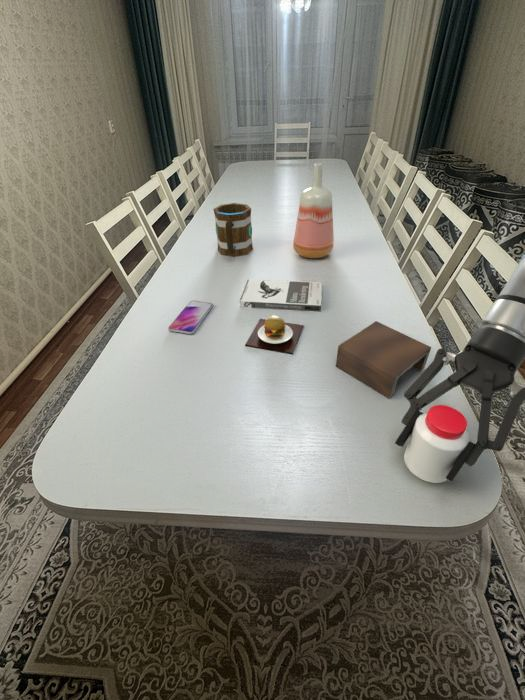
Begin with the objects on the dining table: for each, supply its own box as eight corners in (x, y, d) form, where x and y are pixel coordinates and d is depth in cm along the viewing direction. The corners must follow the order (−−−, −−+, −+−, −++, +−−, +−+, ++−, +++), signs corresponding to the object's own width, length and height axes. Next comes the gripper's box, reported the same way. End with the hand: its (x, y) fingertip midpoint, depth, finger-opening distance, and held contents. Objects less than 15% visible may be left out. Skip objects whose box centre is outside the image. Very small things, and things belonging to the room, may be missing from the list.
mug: (220, 242, 142) (216, 203, 132) (254, 242, 141) (252, 202, 131) (212, 264, 126) (207, 221, 117) (250, 264, 125) (248, 220, 116)
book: (321, 287, 111) (322, 282, 109) (320, 311, 100) (321, 305, 99) (248, 284, 114) (248, 278, 112) (240, 307, 103) (239, 301, 102)
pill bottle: (438, 492, 56) (460, 448, 49) (394, 460, 60) (409, 417, 54) (461, 463, 60) (485, 419, 53) (418, 436, 64) (435, 392, 58)
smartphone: (213, 303, 103) (192, 332, 92) (214, 305, 104) (192, 335, 93) (190, 299, 105) (166, 328, 94) (191, 302, 105) (167, 331, 94)
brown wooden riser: (424, 368, 80) (431, 347, 77) (389, 399, 73) (395, 377, 70) (371, 340, 89) (376, 320, 85) (335, 366, 82) (338, 345, 78)
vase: (287, 248, 135) (288, 161, 117) (322, 243, 138) (329, 157, 120) (302, 264, 124) (306, 170, 106) (339, 258, 127) (350, 166, 109)
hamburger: (303, 326, 94) (304, 309, 91) (292, 354, 85) (293, 335, 82) (260, 320, 97) (259, 302, 94) (245, 346, 89) (244, 327, 85)
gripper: (581, 374, 51) (492, 505, 53) (442, 318, 64) (374, 425, 65) (591, 362, 45) (490, 510, 47) (435, 302, 58) (360, 421, 59)
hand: (422, 461), depth 56 cm, fingers closed on pill bottle, 8 cm apart
